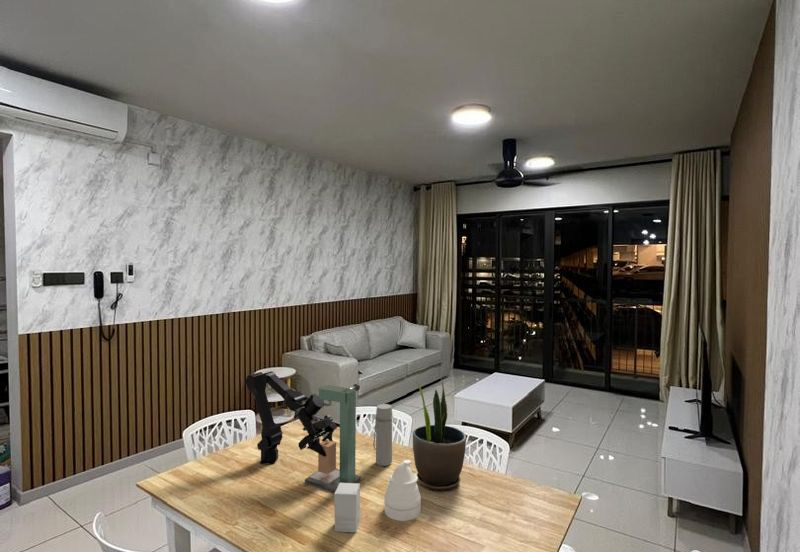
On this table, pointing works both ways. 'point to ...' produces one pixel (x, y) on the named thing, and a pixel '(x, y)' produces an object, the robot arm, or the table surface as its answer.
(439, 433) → the potted plant
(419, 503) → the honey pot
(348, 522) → the supplement box
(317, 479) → the arbor press
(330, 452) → the block
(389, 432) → the water bottle
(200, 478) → the table surface
